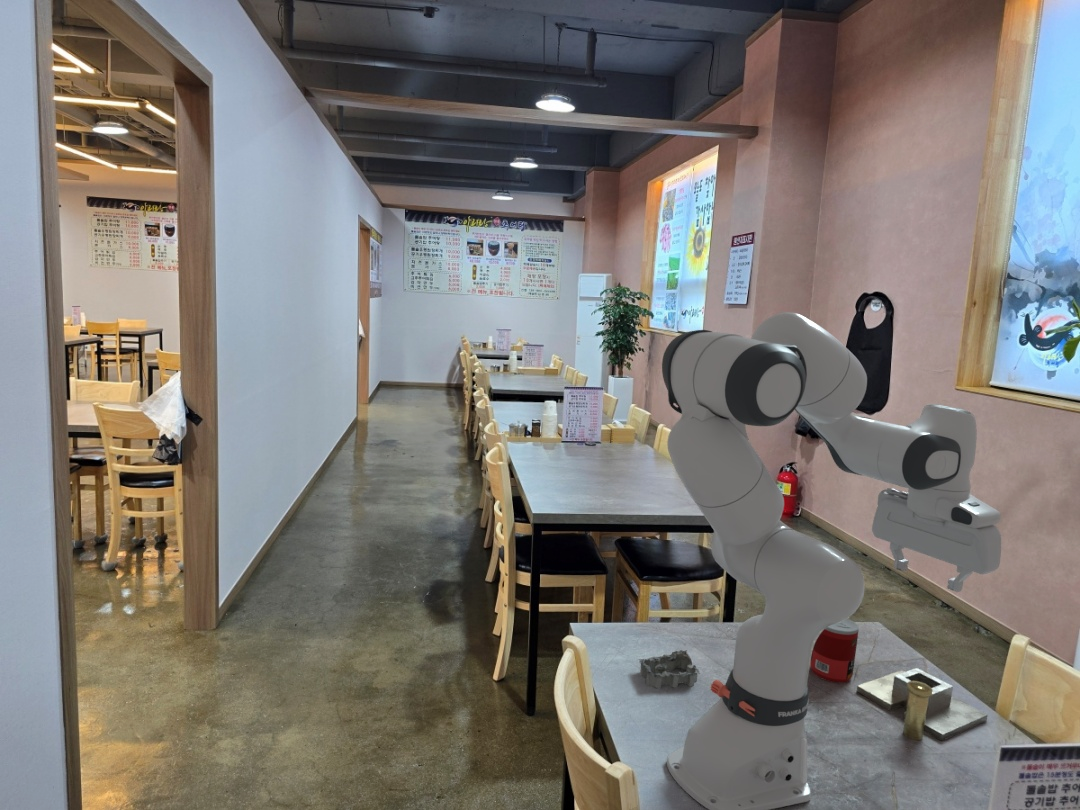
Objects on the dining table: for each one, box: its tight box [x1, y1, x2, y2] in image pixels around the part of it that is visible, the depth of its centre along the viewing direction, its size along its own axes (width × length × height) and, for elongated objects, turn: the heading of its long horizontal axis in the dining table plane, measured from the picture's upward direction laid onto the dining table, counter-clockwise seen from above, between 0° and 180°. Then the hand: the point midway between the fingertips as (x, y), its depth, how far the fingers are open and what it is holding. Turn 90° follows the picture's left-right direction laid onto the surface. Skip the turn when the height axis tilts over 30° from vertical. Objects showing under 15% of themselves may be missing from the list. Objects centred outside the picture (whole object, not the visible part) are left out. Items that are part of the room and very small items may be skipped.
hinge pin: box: [902, 681, 932, 741], centre depth 119 cm, size 4×4×9 cm
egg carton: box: [638, 649, 701, 689], centre depth 133 cm, size 11×8×4 cm
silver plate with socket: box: [856, 667, 988, 742], centre depth 128 cm, size 14×17×5 cm
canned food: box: [810, 618, 860, 684], centre depth 138 cm, size 8×8×11 cm
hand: (926, 579), depth 117 cm, fingers open, 8 cm apart
